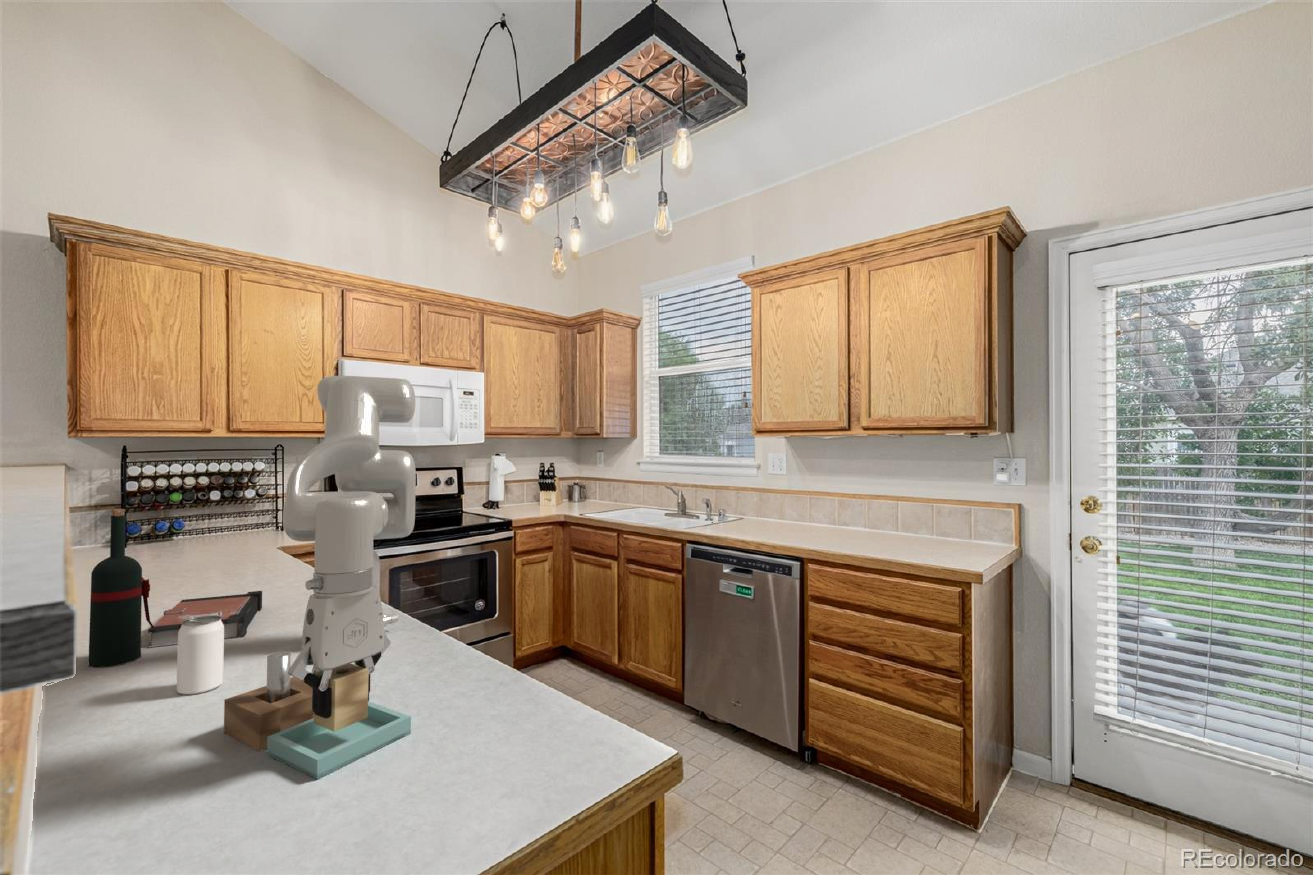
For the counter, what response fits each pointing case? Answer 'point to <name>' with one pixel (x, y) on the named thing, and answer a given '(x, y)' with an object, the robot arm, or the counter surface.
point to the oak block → (346, 697)
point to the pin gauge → (278, 676)
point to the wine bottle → (117, 603)
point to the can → (200, 655)
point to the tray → (337, 741)
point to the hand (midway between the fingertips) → (342, 706)
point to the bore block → (266, 713)
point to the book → (230, 609)
